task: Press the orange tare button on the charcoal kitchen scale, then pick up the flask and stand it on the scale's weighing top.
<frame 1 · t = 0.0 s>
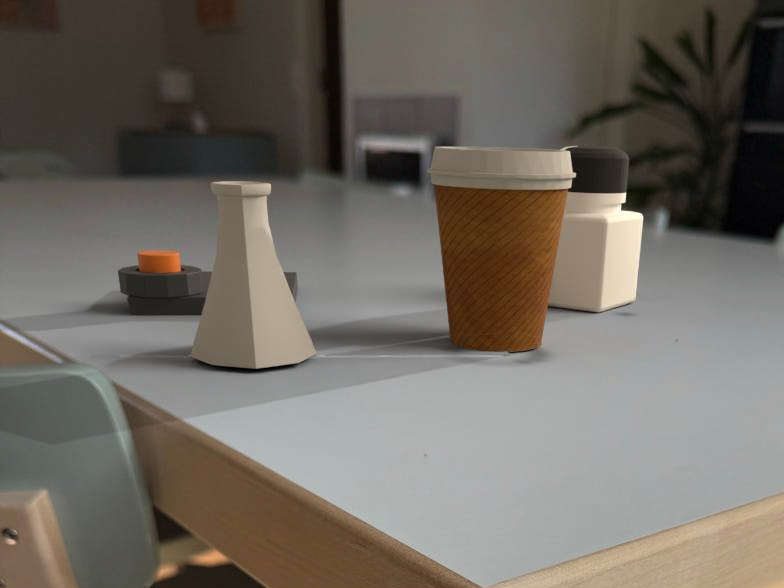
disposable coffee cup: (495, 346, 68), on the table
flask: (254, 362, 61), on the table
tare button: (159, 263, 74), point 3 cm above the table, slide at 0.1 cm
medicine bottle: (580, 305, 84), on the table
scale: (221, 301, 80), on the table
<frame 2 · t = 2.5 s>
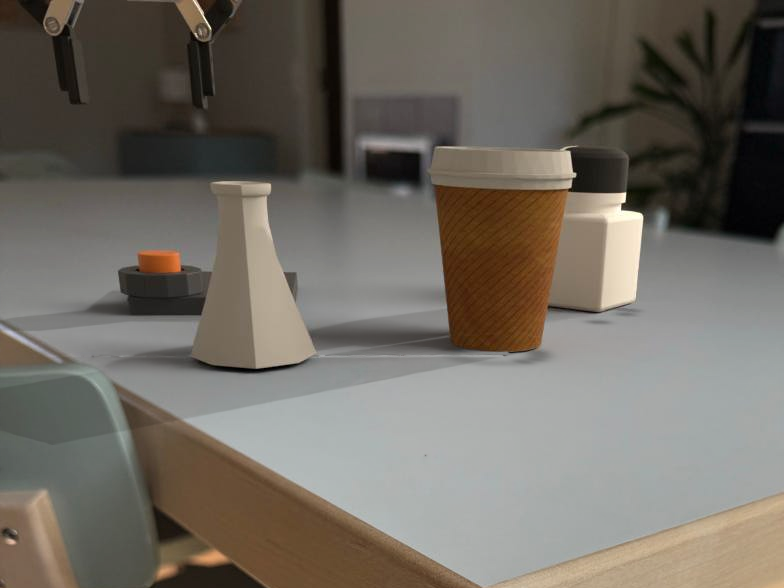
hand: (140, 104, 69), 14 cm above the table, tool pointing down, fingers open, 7 cm apart
nothing on the table moved.
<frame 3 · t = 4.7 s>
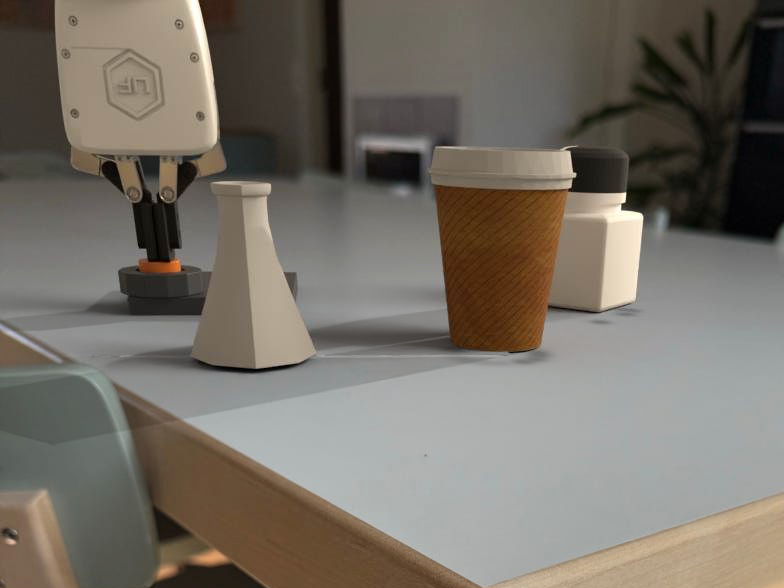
hand: (161, 259, 74), 4 cm above the table, tool pointing down, fingers closed
tare button: (160, 270, 74), point 3 cm above the table, slide at -0.4 cm, touching gripper
everything else where it was.
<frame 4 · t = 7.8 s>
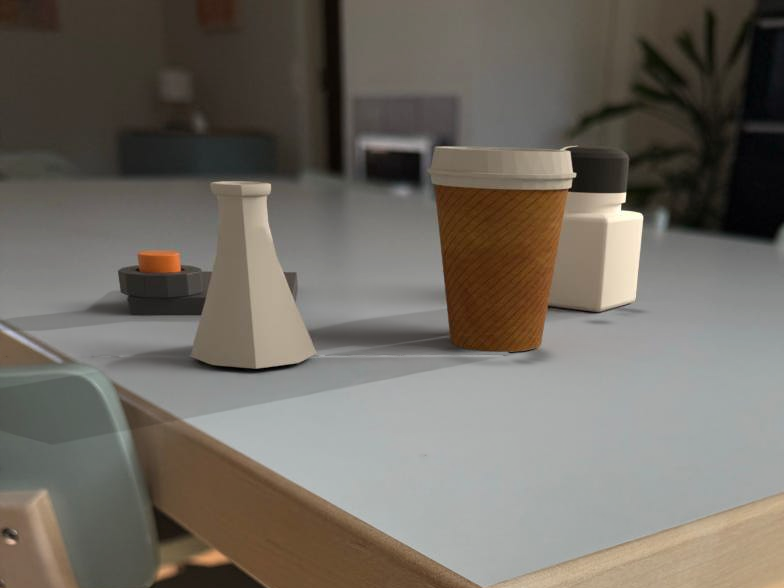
tare button: (159, 263, 74), point 3 cm above the table, slide at 0.1 cm
everything else where it was.
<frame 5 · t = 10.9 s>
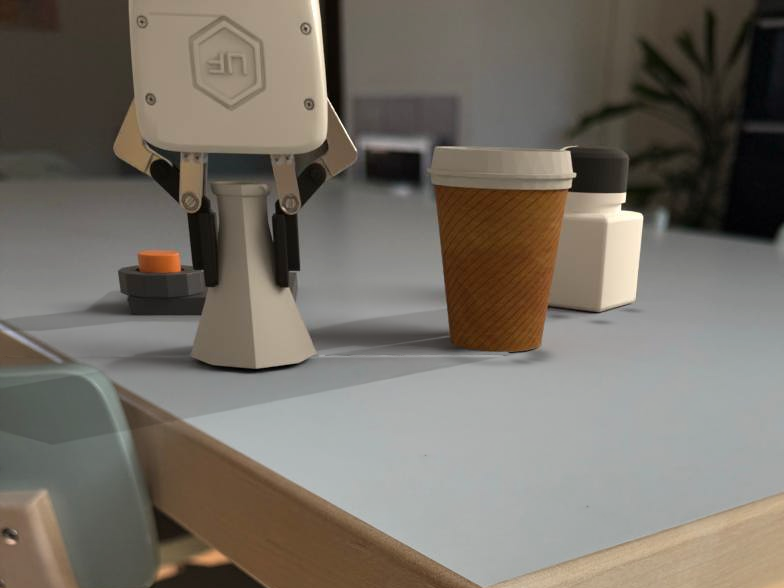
hand: (248, 280, 59), 5 cm above the table, tool pointing down, fingers closed on flask, 3 cm apart
flask: (255, 362, 61), on the table, touching gripper
everything else where it was.
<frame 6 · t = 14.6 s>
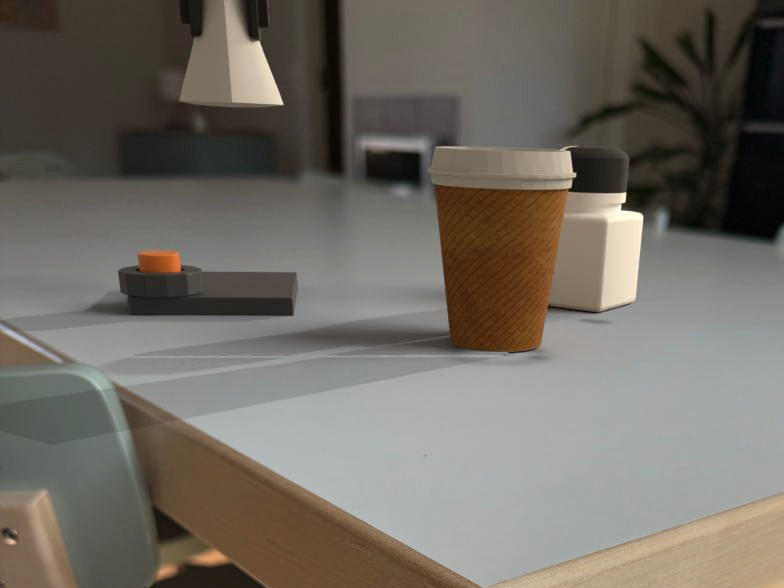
hand: (226, 35, 72), 19 cm above the table, tool pointing down, fingers closed on flask, 3 cm apart
flask: (232, 110, 74), point 14 cm above the table, touching gripper
everything else where it was.
when the fingers open (6 cm above the table, at t = 18.1 s): flask stays where it is, resting on scale.
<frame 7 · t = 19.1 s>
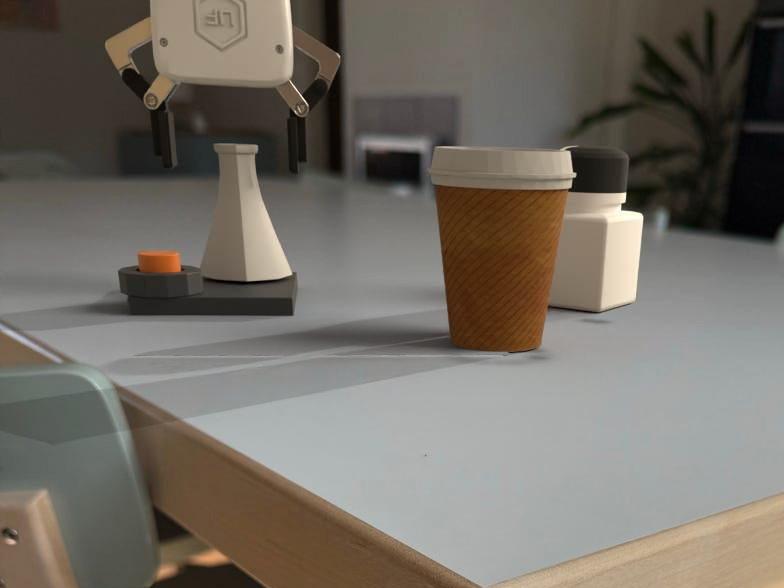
hand: (232, 170, 78), 10 cm above the table, tool pointing down, fingers open, 9 cm apart
flask: (246, 280, 82), point 1 cm above the table, touching scale
everything else where it was.
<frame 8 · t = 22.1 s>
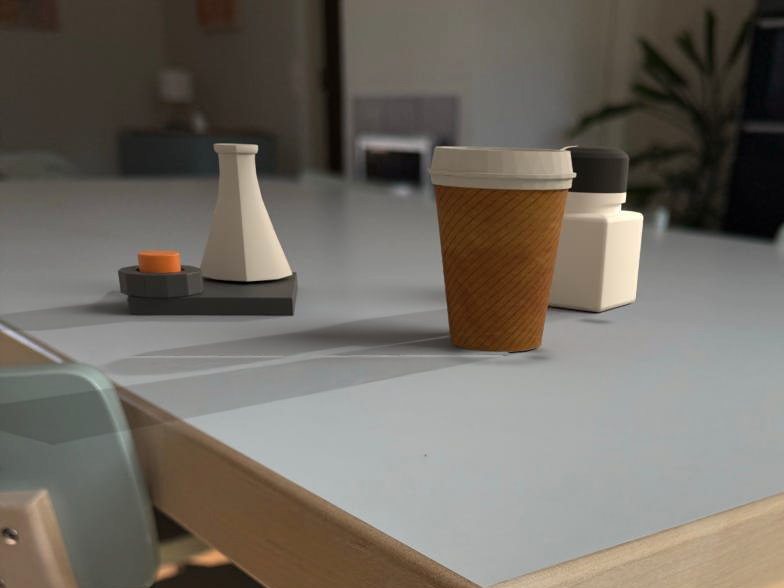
nothing on the table moved.
at the end: tare button pushed in 0.9 cm at the most during the clip, back to where it started at the end; flask inside the target area on the scale (0.6 cm from its centre), point 1.2 cm above the scale's base; flask touching scale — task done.
